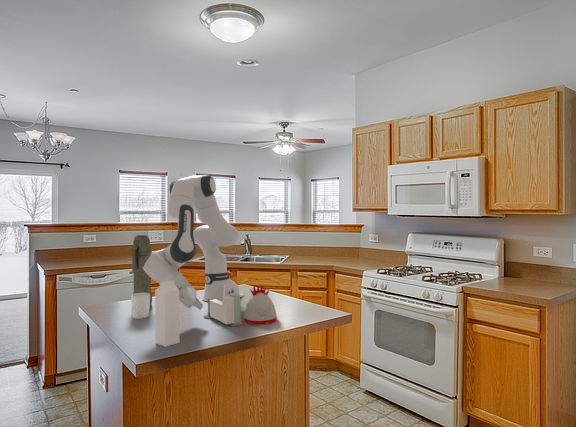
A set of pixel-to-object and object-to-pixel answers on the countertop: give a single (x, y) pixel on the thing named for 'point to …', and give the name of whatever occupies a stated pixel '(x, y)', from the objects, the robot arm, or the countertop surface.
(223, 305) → the cream l-shaped block
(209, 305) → the hinge post
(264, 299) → the kitchen timer
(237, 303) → the latch post
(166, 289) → the milk
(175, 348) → the countertop surface
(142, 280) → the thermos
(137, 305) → the white cup
